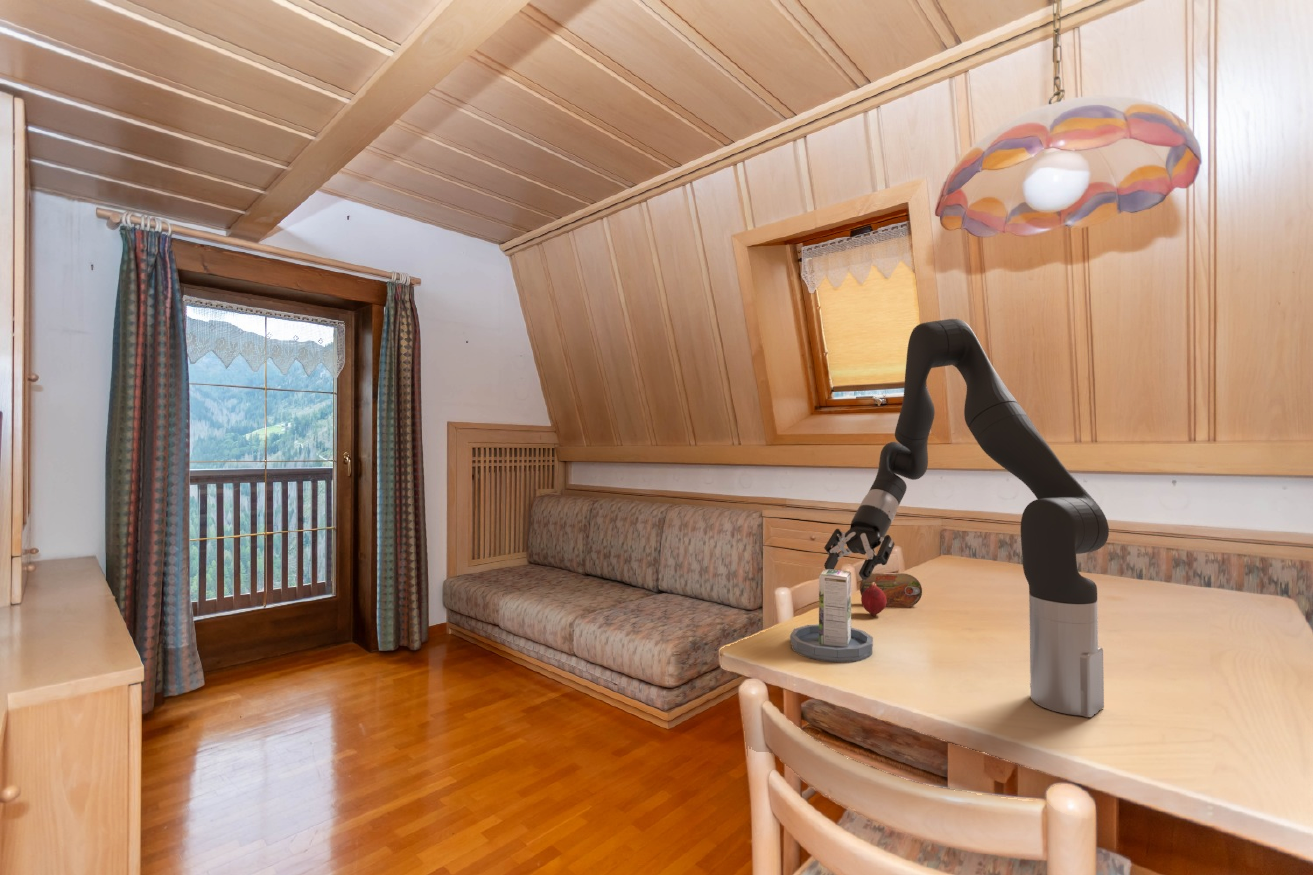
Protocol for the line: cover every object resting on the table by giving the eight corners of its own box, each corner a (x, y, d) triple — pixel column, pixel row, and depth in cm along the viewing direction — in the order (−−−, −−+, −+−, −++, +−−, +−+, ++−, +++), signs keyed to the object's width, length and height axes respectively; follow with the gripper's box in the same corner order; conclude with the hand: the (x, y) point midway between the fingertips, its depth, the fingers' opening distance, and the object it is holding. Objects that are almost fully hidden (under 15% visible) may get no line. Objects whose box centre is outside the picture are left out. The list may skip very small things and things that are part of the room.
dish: (888, 649, 126) (888, 637, 126) (839, 668, 116) (839, 655, 116) (824, 631, 139) (824, 619, 139) (775, 646, 129) (775, 634, 129)
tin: (860, 606, 159) (860, 573, 159) (858, 603, 162) (858, 570, 162) (922, 608, 156) (922, 574, 156) (919, 604, 160) (919, 572, 160)
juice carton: (823, 636, 132) (822, 568, 132) (852, 639, 130) (851, 570, 130) (818, 644, 127) (817, 573, 127) (848, 648, 124) (847, 576, 124)
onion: (888, 619, 147) (888, 585, 147) (863, 618, 148) (862, 585, 148) (884, 612, 153) (884, 580, 153) (860, 611, 154) (859, 579, 154)
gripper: (840, 501, 142) (809, 558, 135) (897, 506, 130) (866, 568, 123) (854, 522, 145) (824, 578, 138) (911, 528, 133) (882, 590, 126)
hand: (844, 573), depth 131 cm, fingers open, 8 cm apart
